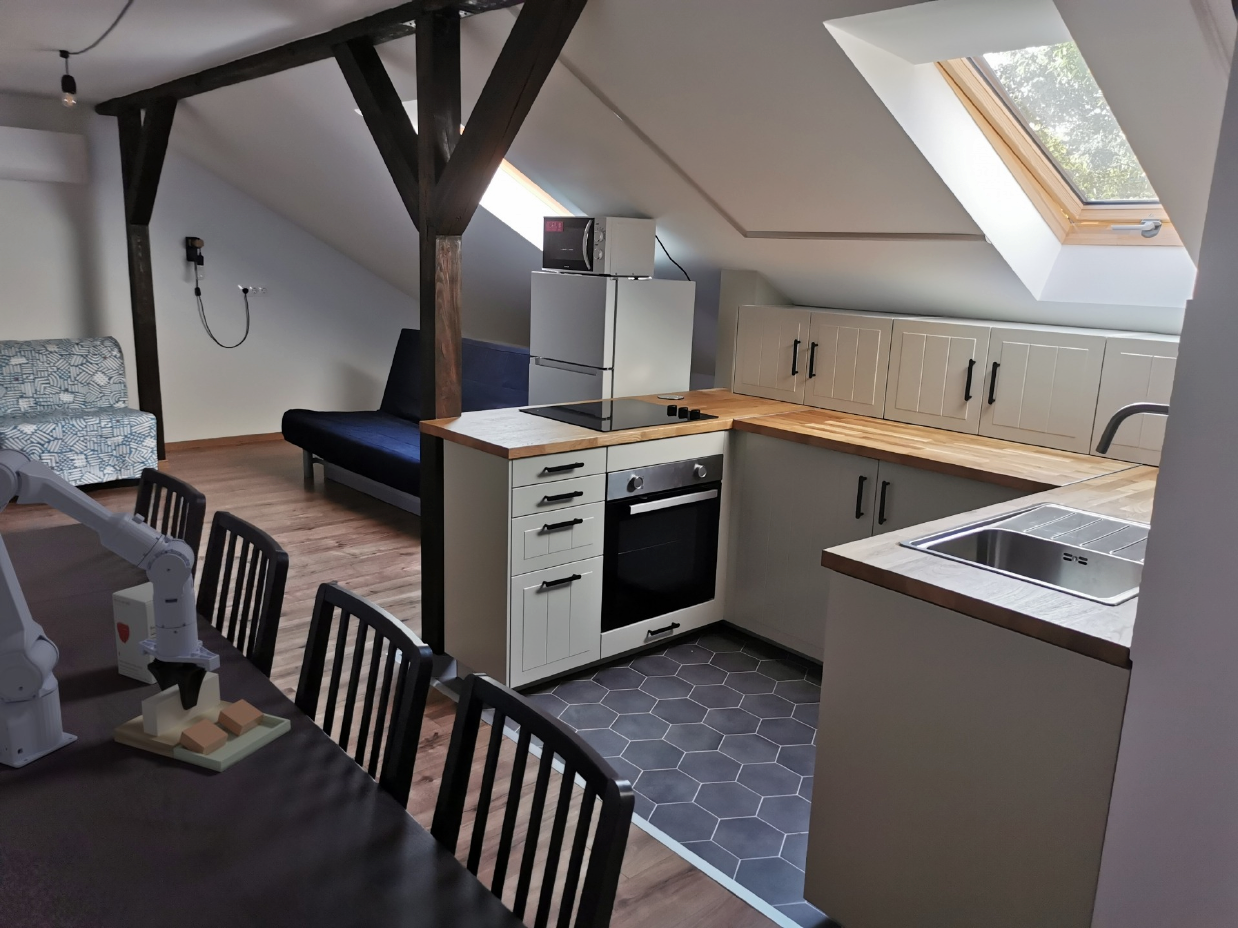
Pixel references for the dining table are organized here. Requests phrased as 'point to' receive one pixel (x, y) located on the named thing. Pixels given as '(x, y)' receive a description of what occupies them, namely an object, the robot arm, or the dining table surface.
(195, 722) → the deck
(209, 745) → the tile
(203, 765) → the tray
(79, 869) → the dining table surface
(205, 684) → the push bar
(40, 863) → the dining table surface
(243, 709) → the tile
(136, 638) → the supplement box
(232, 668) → the dining table surface
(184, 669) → the robot arm
